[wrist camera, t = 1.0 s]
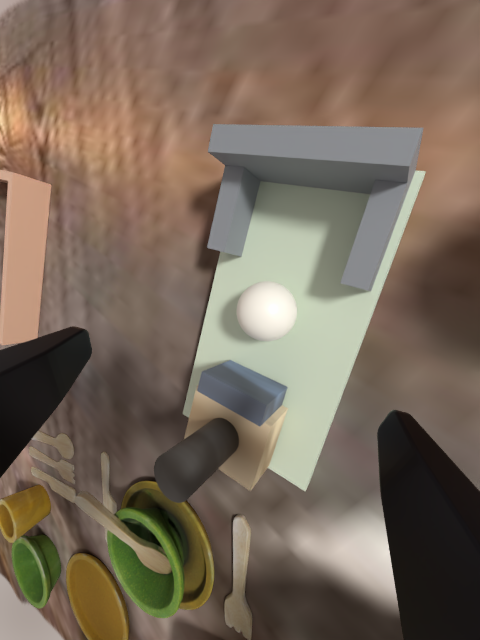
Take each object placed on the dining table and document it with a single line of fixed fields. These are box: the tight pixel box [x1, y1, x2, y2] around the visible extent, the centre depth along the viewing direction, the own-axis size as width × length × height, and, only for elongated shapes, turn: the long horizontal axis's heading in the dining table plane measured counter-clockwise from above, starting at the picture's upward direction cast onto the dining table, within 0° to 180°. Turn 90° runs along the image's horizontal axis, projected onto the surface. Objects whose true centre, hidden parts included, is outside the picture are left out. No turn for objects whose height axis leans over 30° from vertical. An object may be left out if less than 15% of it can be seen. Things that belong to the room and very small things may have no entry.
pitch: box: [183, 124, 426, 491], centre depth 19 cm, size 22×12×6 cm, turn 164°
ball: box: [236, 281, 297, 342], centre depth 18 cm, size 4×4×4 cm
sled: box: [154, 360, 288, 503], centre depth 18 cm, size 6×6×8 cm
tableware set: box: [0, 430, 252, 640], centre depth 32 cm, size 41×28×6 cm
